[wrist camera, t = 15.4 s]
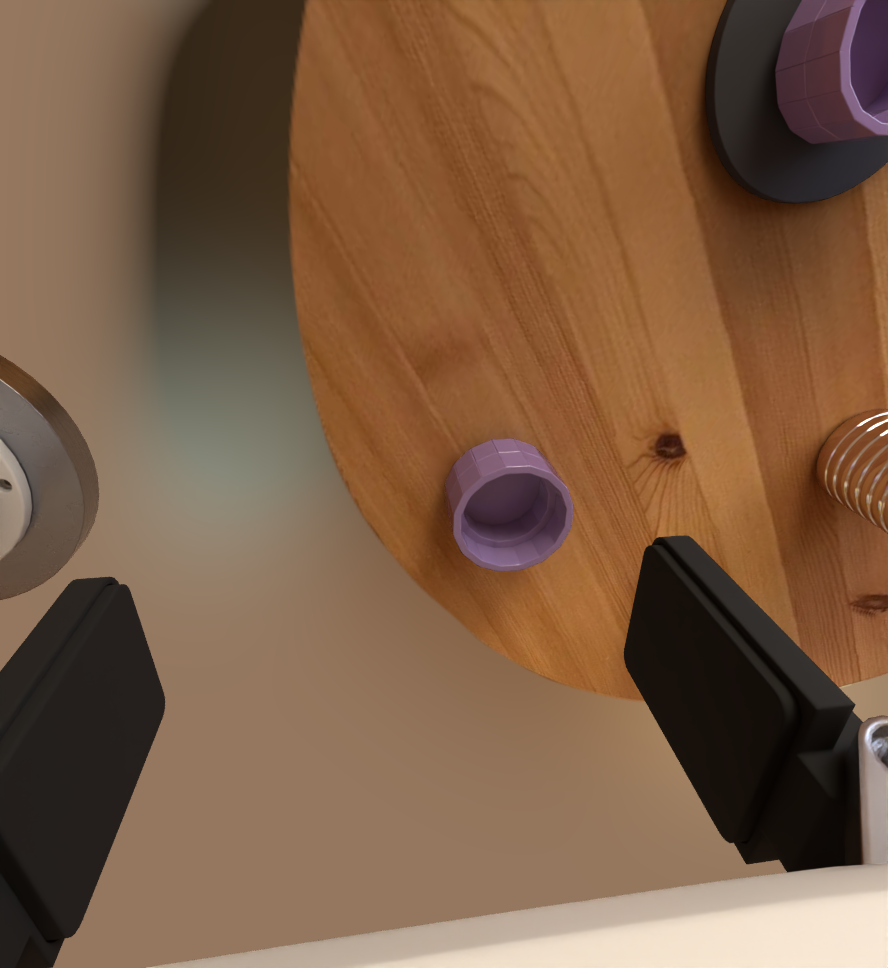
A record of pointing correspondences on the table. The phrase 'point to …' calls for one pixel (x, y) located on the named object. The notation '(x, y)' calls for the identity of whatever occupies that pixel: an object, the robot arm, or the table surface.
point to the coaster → (771, 114)
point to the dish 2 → (835, 71)
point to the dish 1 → (507, 505)
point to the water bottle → (858, 466)
